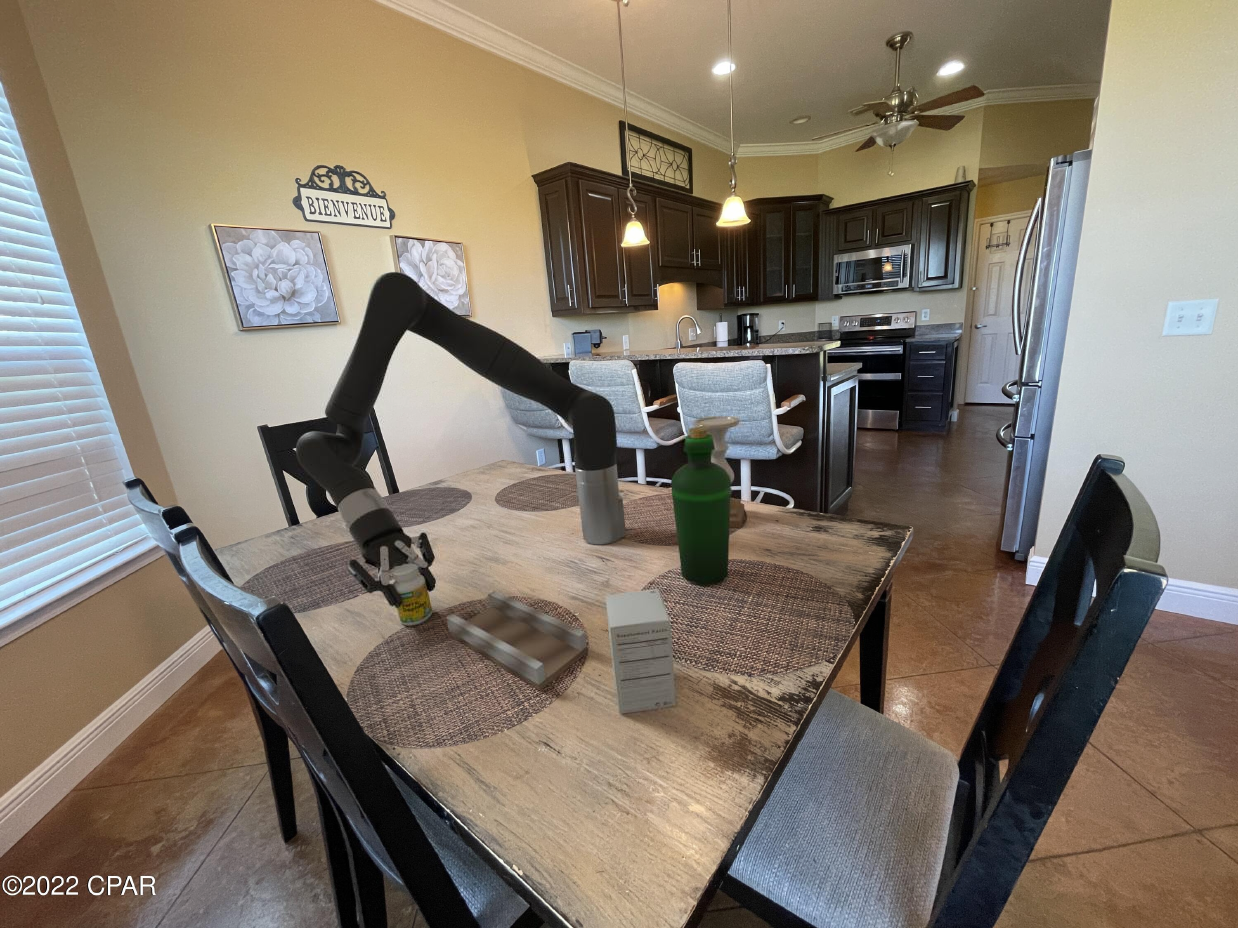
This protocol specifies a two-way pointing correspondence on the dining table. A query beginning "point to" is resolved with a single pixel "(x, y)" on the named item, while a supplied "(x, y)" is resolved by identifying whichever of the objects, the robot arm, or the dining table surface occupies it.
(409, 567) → the supplement bottle
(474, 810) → the dining table surface
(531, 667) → the walnut track
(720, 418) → the candle holder
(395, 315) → the robot arm
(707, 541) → the bottle
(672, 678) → the supplement box
